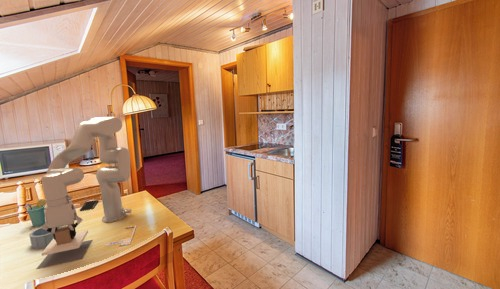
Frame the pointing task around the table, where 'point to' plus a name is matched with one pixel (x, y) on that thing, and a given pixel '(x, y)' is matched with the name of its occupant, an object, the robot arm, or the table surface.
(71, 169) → the robot arm
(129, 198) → the table surface
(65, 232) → the lid
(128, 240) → the photo frame
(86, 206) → the phone
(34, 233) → the bowl
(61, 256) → the mat
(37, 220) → the cup
